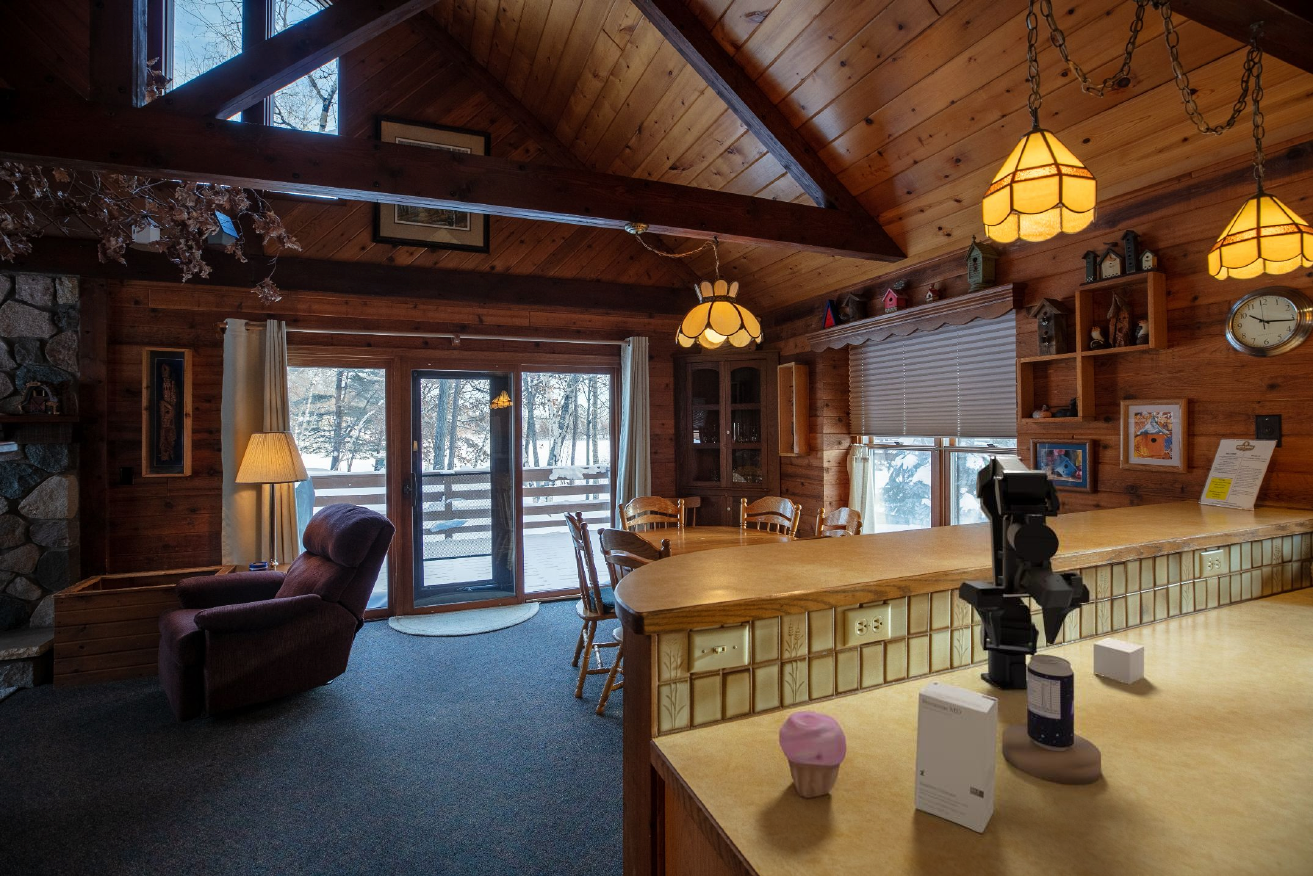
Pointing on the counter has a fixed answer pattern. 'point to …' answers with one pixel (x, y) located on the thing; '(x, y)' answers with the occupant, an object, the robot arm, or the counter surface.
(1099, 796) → the counter surface
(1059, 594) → the robot arm
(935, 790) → the skincare box
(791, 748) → the cupcake
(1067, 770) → the walnut base
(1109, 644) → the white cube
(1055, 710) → the beverage can
